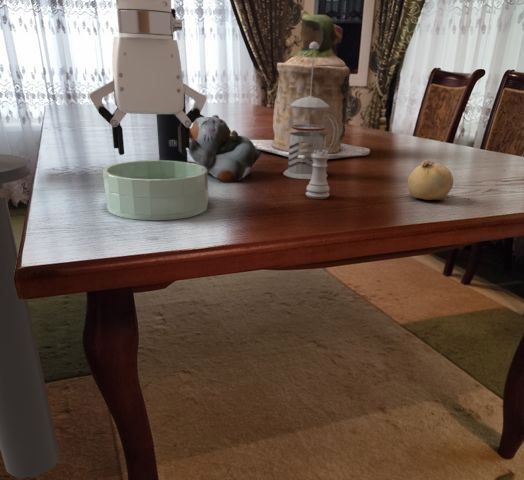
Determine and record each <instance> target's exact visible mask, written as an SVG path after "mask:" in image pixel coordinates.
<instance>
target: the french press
mask: <svg viewBox="0 0 524 480" xmlns="http://www.w3.org/2000/svg"><path fill="white" fill-rule="evenodd" d="M309 48H313V61H314V49H319V45H318V43H317V42H312V43H311V44H310V46H309ZM313 61H312V75H311V90H312V76H313ZM311 90H310V96H308V97H305V98H300V99H298V100H296V101H295V102H293V103H292V104H291V108H296V109H308V110H309V119H308V125H306V124H296V125H292V128H293V129H295V130H301V131H322V130H325V126H322V125H320V126H319V125H312V124H311V125H310V124H309V120H310V110H324V109H328V108H329V107H330V106H329V105H328V104H327V103H325V102H324V101H323V100H321V99H319V98H315V97H313V96H311ZM329 115H330V114H328V115H324V116H326V117H327V120H326V121H324V116H323V121H324V122H327V121H328V118H329V117H328V116H329ZM330 116H331V117H332V118H333V119H334V121H335V122H336V125H337V129H338V132H337V139H336V142H335V144H334V146H333V147H332V148H331V146H332V144H333V141H334V137H335V127H334V124H333V122H332V120H331V119H330V118H329V119H330V121H331V122H332V125H333V129H334V135H333V141H332V143H331V145H330V147H329V148H328V149H327V150H326V151H330V150H332V149H333V148H334V147H335V145H336V143H337V140H338V135H339V127H338V124H337V121H336V120H335V118H334V117H333V116H332V115H330ZM323 140H324V143H322V142H323ZM299 142H300V143H309V144H310V145H307V146H304V145H299ZM322 146H323V147H324V150H325V147H326V134H322V133H316V132H292V133H290V142H289V157H288V163H287V164H288V165H287V169H285V171H284V172H282V173H283V176H286V177H288V178H292V179H298V180H299V179H301V180H311V177H312V172H313V166H312V164H313V163H314V160H313V158H312V157H311V156H312V155H313V153H314V150H320V152H322V150H323V149H322ZM310 147H313V148H310ZM330 148H331V149H330ZM298 149H306V150H309V151H307V152H299V151H298ZM326 151H325V152H326ZM316 152H317V151H316ZM310 153H312V155H311V154H310ZM299 155H303V156H307V157H306V158H298V156H299ZM310 159H312V160H310ZM327 177H328V174H327V173H326V178H327Z"/></svg>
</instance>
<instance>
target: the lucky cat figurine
mask: <svg viewBox="0 0 524 480" xmlns="http://www.w3.org/2000/svg"><path fill="white" fill-rule="evenodd" d="M189 140H190V147H189V148H186V150H187V154H188V155H189V156H190V157H191V158H192V160H193V162H195V164H198V165H201V166H204V167H206V169H207V171H208V174H210V175H212V177H214V178H216V179H218V180H219V181H221V182H224V183H226V182H227V183H232V182H233V183H237V182H240V180H241V179H244V178H245V177H246V176H248V175H249V174H250V173H251V170H252V167H253V166H254V165H255V163H256V162H257V161H258V160H259V158H260V157H261V155H262V151H261V150H259V149H256V148H255V146H254V145H253V143H252V142H251V141H250V140H251V139H250V138H249V137H246V136H243V135H239V133H238V132H237V131H236V130H234V129H233V130H232V131H231V129H230V127H229V126H228V124H227V123H226V121H225V120H224V119H222V118H220V116H219V115H217V114H213V115H212V116H205V115H204V114H201V113H200V115H199V117H198V118H197V119H196V120H195V121H194V122H193V123H192V125H191V127H189Z"/></svg>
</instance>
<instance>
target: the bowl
mask: <svg viewBox="0 0 524 480" xmlns="http://www.w3.org/2000/svg"><path fill="white" fill-rule="evenodd" d="M208 174H209V173H208V171H207V169H206V167H204V166H201V165H198V164H197V163H193V162H189V161H188V162H181V161H168V160H159V159H147V160H146V159H144V160H131V161H124V162H117V163H113V164H109V165H107V166H105V167H104V168H103V169H102V176H103V177H102V178H103V187H104V196H105V203H106V209H107V211H108V212H109V213H110V214H111V215H114V216H117V217H120V218H124V219H130V220H136V221H137V220H139V221H171V220H180V219H187V218H191V217H195V216H198V215H200V214H203V213H204V212H206V211H207V210H208V207H209V206H208V205H209V204H208V203H209V176H208Z"/></svg>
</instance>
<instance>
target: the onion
mask: <svg viewBox="0 0 524 480" xmlns="http://www.w3.org/2000/svg"><path fill="white" fill-rule="evenodd" d="M453 186H454V177H453V174H452V171H451V170H450V169H449V168H448V167H446V165H444V164H442V163H437V162H434V161H432V160H429V159H426V160H422V161H421V164H419V165H418V166H416V167H415V168H414V169H413V170H412V172H411V173H410V174H409V176H408V179H407V189H408V192H409V195H410V196H411V197H413V198H415V199H422V200H426V201H429V200H430V201H432V200H436V201H443V200H445V199H446V197H447V196H448V194H449V193H450V192H451V190H452V188H453Z"/></svg>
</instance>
